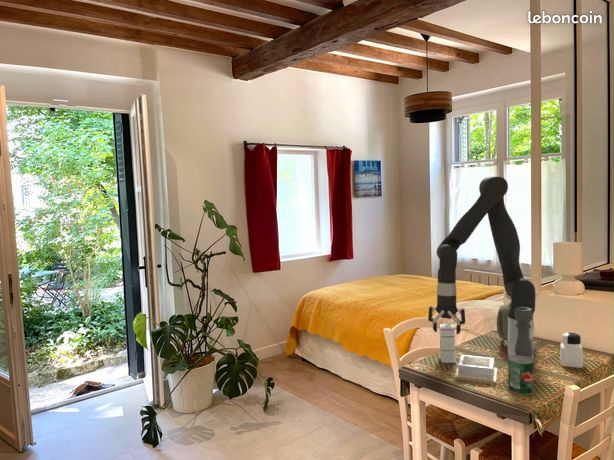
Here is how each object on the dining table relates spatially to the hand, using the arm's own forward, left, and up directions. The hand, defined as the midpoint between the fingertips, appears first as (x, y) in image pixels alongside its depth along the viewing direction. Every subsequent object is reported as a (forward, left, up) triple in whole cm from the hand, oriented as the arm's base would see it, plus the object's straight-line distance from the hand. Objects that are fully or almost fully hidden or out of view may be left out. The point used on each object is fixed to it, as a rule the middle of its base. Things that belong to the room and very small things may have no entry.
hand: (446, 332), depth 187 cm
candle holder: (-28, +8, -12) cm, 32 cm away
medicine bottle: (-45, -11, -12) cm, 48 cm away
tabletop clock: (-25, -26, -12) cm, 38 cm away
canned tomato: (-27, +22, -12) cm, 37 cm away
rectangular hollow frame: (-12, +12, -12) cm, 21 cm away
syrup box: (0, 0, -12) cm, 12 cm away
